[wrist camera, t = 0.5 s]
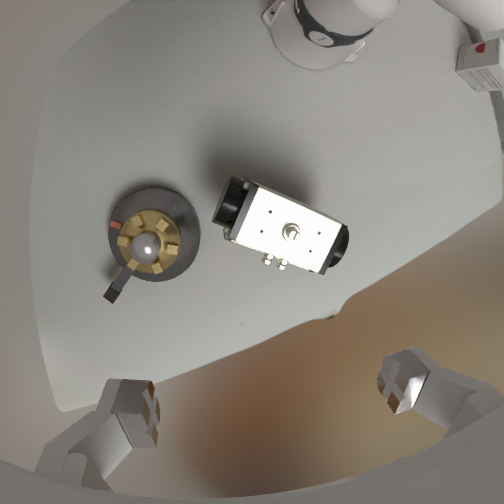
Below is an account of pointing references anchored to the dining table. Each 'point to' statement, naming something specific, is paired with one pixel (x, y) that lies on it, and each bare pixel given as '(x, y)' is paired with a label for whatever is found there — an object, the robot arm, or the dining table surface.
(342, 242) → the ball valve
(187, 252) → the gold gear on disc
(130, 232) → the lever handle valve
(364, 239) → the dining table surface
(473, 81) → the supplement box
